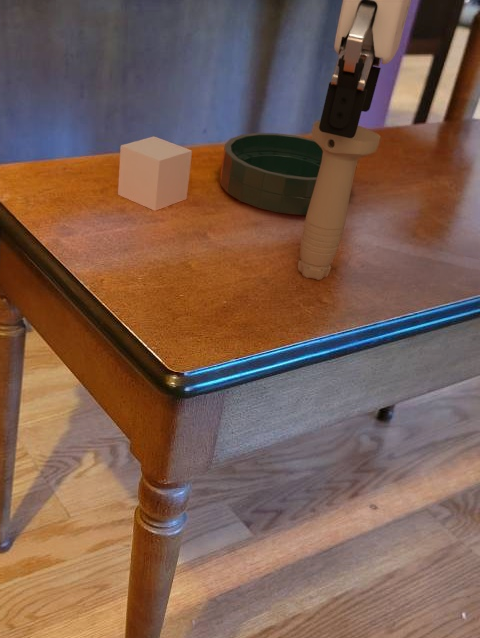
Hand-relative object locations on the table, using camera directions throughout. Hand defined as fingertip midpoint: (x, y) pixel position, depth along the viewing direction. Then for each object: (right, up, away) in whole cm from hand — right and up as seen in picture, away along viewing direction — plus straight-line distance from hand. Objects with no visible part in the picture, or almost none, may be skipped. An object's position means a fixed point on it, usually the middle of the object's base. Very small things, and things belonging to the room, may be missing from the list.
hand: (345, 120), depth 69 cm
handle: (-1, -13, +10) cm, 16 cm away
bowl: (-2, +1, +27) cm, 28 cm away
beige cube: (-19, -1, +22) cm, 29 cm away
